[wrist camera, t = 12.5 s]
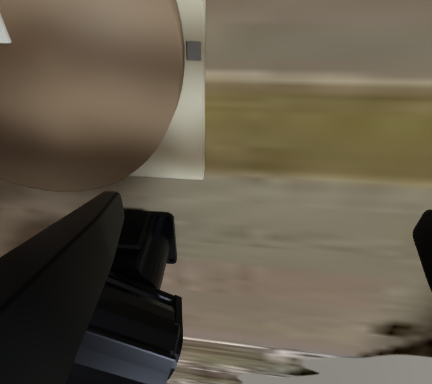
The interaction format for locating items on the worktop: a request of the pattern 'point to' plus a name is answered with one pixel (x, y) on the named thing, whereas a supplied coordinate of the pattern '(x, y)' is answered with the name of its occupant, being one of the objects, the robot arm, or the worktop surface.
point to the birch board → (185, 107)
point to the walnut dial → (85, 88)
